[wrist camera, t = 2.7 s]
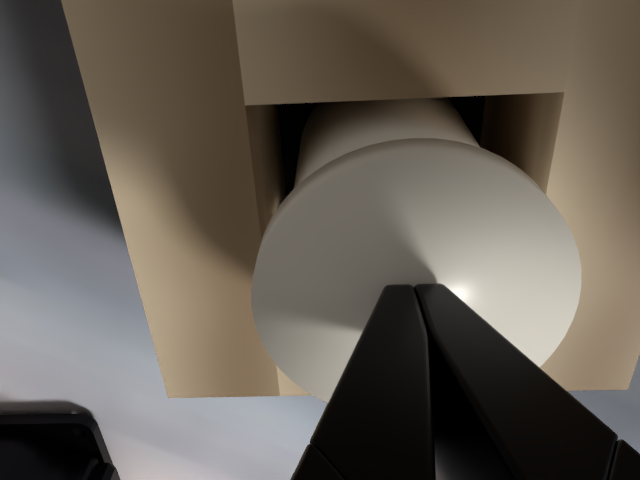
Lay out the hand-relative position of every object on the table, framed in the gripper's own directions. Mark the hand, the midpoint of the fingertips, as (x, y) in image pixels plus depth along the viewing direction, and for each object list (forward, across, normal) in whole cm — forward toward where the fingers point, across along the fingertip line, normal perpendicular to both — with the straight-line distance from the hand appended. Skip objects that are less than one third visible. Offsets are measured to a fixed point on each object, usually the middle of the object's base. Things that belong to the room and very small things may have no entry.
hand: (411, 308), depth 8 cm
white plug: (+6, 0, 0) cm, 6 cm away
